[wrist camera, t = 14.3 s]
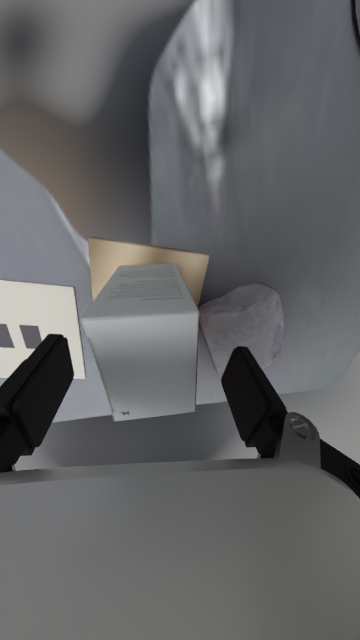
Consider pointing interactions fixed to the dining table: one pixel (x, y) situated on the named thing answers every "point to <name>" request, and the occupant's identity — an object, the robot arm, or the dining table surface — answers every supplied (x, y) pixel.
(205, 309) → the stone block
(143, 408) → the small box
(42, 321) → the cream tile
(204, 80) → the dining table surface
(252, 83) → the dining table surface
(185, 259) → the wooden board
